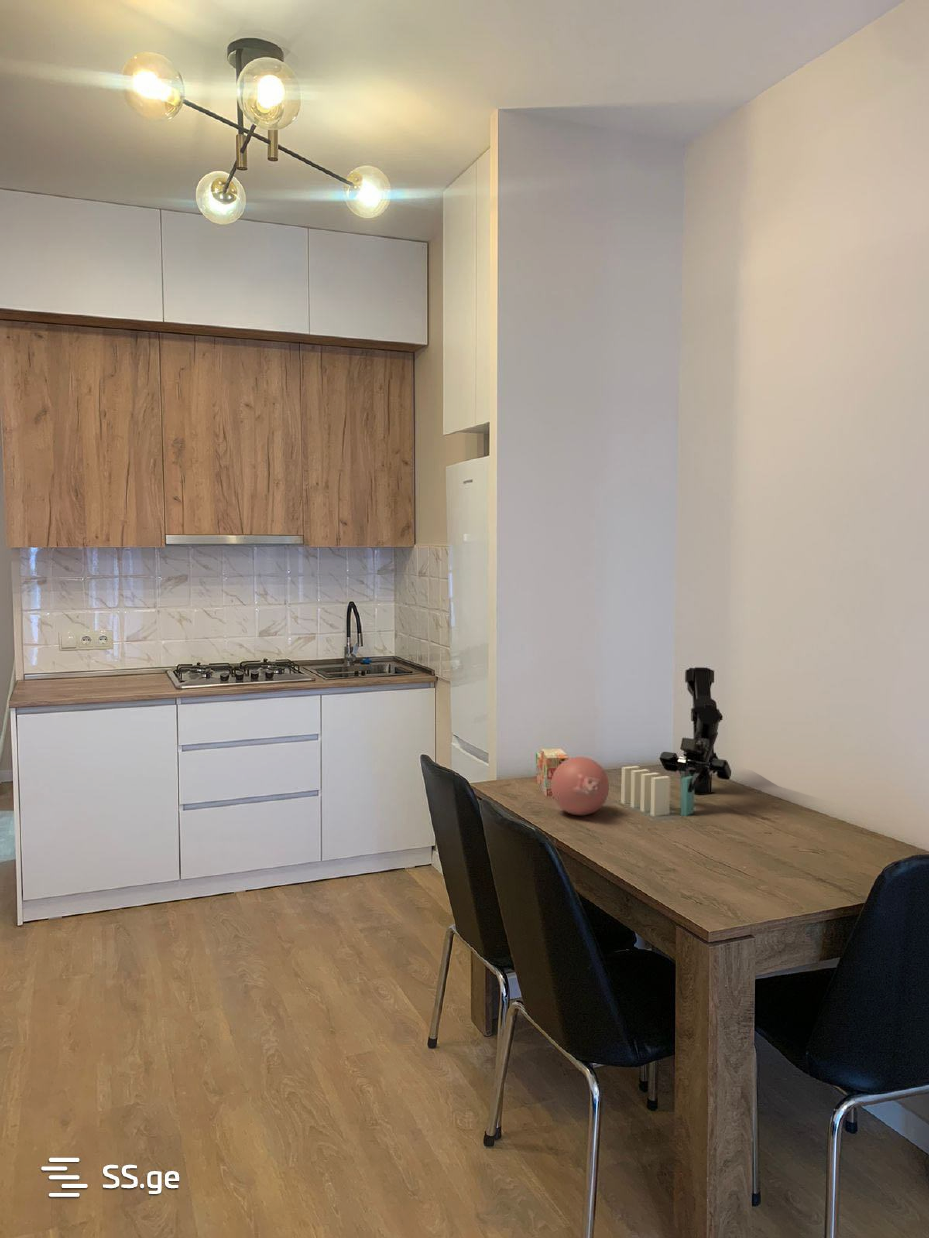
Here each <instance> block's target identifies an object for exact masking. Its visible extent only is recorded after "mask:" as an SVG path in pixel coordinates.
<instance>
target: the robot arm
mask: <svg viewBox="0 0 929 1238" xmlns="http://www.w3.org/2000/svg"><path fill="white" fill-rule="evenodd" d="M684 683H686V686H687V687H686V688H687V689H686V690H687V691H688V693H689V694H690V695H691V697H692V708H690V721H691V722H692V726H693V727H692V729H693V734H692V735H693V738H689V737H682V738H681V744H680V750H681V751H682V752H683V753H682V754H683V757H681V756H678V754H677V752H672V751H671V752H670V751H663V752H661V754H660V756H659V761H660V763H661V764H662V767H663V769H664V770H665V771H667V772H673V773H677V772H678V773H679V774H680V780H681V779H682V778H685V777H687V776H693V778H692V780H691V782H690V785H689V789H688V792H689V793H690V792H692V791H693V790H694V795H707V794H715V793H716V791H715V790H713V789H712V784H713V783H712V782H713V781H712V780H713V774H716V776H717V778H718V779H720V780H728V781H729V780H730V778H731V776H732V769H731V766H730V764H729V762H728V760H727V759H722V758H719V756H718V755H717V752H715V750H714V749H715V748H714V747H715V743H716V740H717V738H718V735H719V732H718V729H719V723H721V721H723V715H722V713H721V711H720V709H719V708H718V707H717V701H715V700H714V698H712V692H711V688H712V685H713V684H714V683H715V670H713V669H711V668H709V667H702V666H701V667H699V666H696V667H689V668H688V669H686V670H685V672H684Z"/></svg>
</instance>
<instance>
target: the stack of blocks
mask: <svg viewBox="0 0 929 1238" xmlns="http://www.w3.org/2000/svg"><path fill="white" fill-rule="evenodd" d="M568 759H570V757H569V756H568V755H567V753H566V752H565V751H564V750H562V749H561V748H540V752H535V781H536V780H537V782H536V783H538V784H539V785H540V787H541V789H542V790H543V792H544V793H543V792H542V793H543V794H545V795H544V797H545V796H546V797H553V795H552V791H551V781H552V776H553V774H554V772H555V770H556V769H557V767H558V766H559V765H560V764H561V763H563V762H564V761H566V760H568ZM538 784H537V785H538ZM541 789H540V790H541ZM542 790H541V791H542ZM546 797H545V798H546Z"/></svg>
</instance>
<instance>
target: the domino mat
mask: <svg viewBox="0 0 929 1238" xmlns="http://www.w3.org/2000/svg"><path fill="white" fill-rule="evenodd" d="M608 801H610V802H612V801H621V800H608ZM616 804H617V805H619V804H623V803H616ZM629 804H631V803H629ZM621 806H622V807H624V808H626V809H629V810H630V811H631V810H632V811H633V812H637V813H638V814H641V815H643V816H647V817H649V818H652V819H653V820H656V821H665V820H671V819H672V820H673V819H678V818H680V819H681V818H682V815H678V814H676V813H674V812H671V811H669V814H667V815H659V816H652V815H650V812H651V811H648V812H643V811H640V807H638V808H633V807H631V805H624V806H623V805H621Z"/></svg>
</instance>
